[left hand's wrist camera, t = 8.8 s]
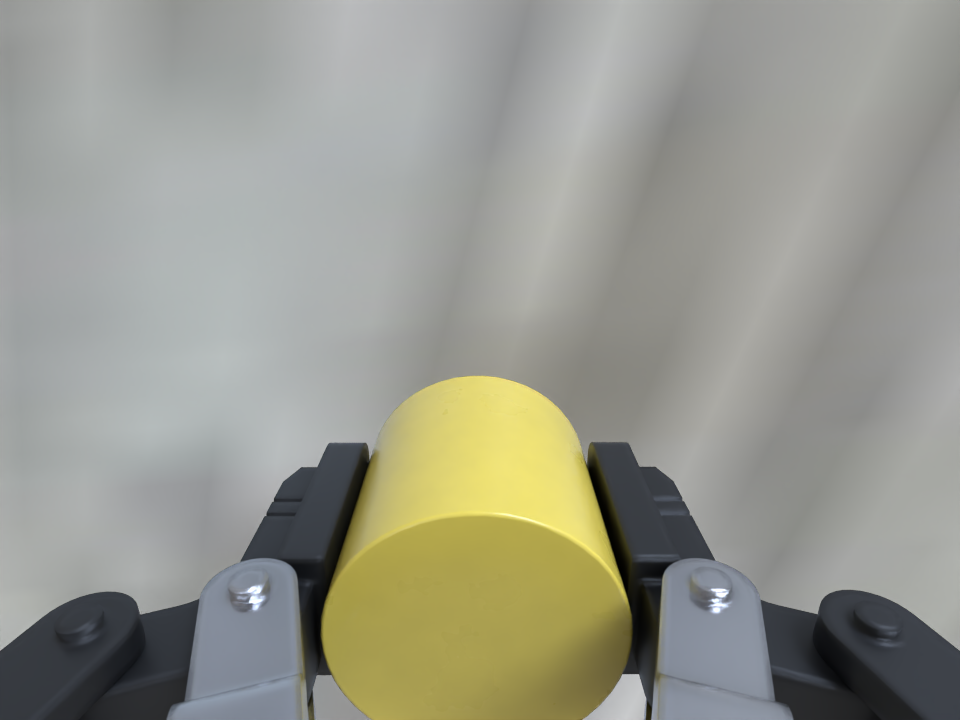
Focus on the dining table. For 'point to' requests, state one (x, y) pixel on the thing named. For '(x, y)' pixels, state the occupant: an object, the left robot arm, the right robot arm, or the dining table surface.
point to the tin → (477, 566)
